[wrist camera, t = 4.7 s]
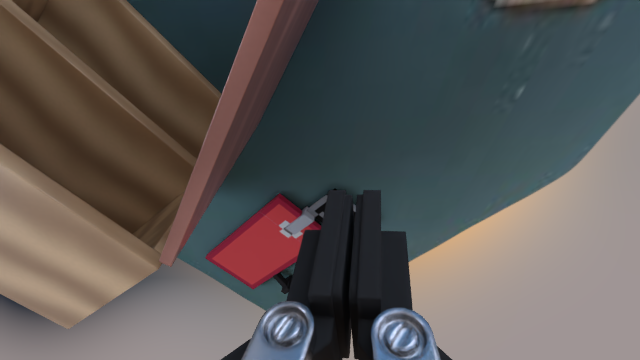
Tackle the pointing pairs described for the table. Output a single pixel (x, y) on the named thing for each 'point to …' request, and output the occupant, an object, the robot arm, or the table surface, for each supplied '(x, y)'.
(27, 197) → the cupboard
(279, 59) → the cupboard door
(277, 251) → the red board with handle
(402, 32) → the table surface
